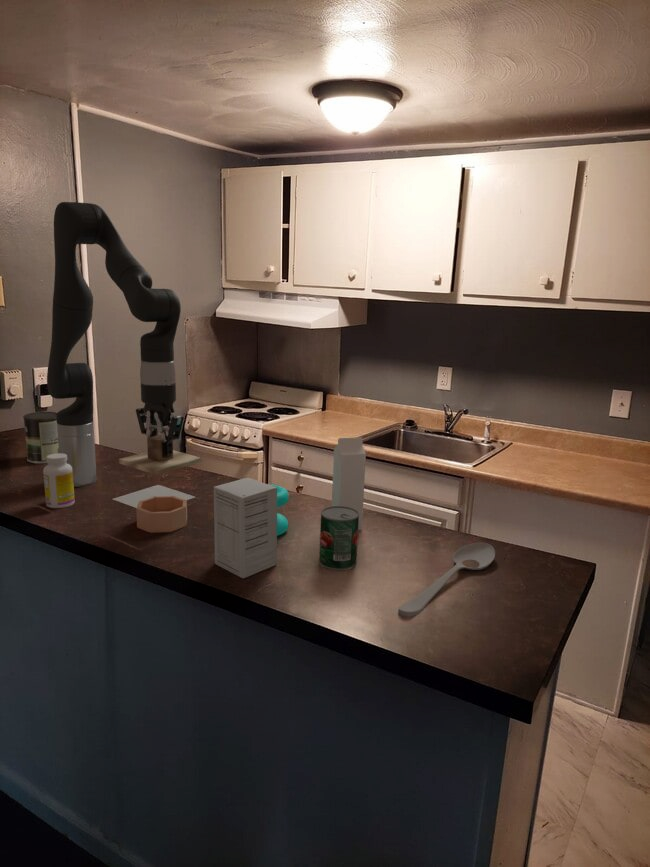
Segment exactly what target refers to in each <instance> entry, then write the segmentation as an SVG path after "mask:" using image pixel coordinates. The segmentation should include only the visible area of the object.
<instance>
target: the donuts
mask: <svg viewBox="0 0 650 867" xmlns="http://www.w3.org/2000/svg"><path fill="white" fill-rule="evenodd" d="M270 485H271V486H273V487H276V488H277V509H278V508H281V507H283V506H285V505H286V504H287V503H288V501H289V500H290V499H289V498H290V494H289V492H288V490H287V489H286V488H284V487H282V486H279V485H276V484H270ZM288 528H289V521H288V519H287V517H285V515H283V514H281V513H278V512H277V537H278V536H281V535H283V534H284V533H286V532H287V530H288Z"/></svg>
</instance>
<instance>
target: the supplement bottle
mask: <svg viewBox="0 0 650 867" xmlns="http://www.w3.org/2000/svg"><path fill="white" fill-rule="evenodd" d="M46 459H47V463H46V464H47V465H45V466H44V468H43V470H42V473H43V486H44V494H45V496H44V497H45V506H46V507H48V508H51V509H62V508H68V507H70V506H72V505H74V504H75V499H76V498H75V497H76V496H75V487H74V484H73V471H72V467H71V465H69V464H67V455H66V454H61V453H58V454H51V455H48V456H47V457H46Z"/></svg>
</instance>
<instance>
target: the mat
mask: <svg viewBox="0 0 650 867" xmlns="http://www.w3.org/2000/svg"><path fill="white" fill-rule="evenodd" d="M154 496H176V497H179V498H182V499H185V500H187V501H189V500H191V499H194V498H195V499H196V496H194V495H191V494H188V493H185V492H182V491H179V490H175V489H172V488H169V487H167V486H164V485H161V484H156V485H154V486H150V487H146V488H143V489H140V490H137V491H134V492H130V493H128V494H124V495H121V496H118V497H114V498H112V500H113V501H116V502H119V503H121V504H125V505H127V506H129V507H133V508H135V509H136V508H137V505H138V503H139V501H142V500H145V499H148V498H151V497H154Z"/></svg>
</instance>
